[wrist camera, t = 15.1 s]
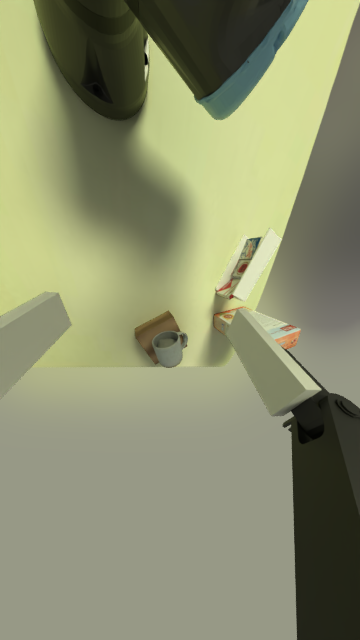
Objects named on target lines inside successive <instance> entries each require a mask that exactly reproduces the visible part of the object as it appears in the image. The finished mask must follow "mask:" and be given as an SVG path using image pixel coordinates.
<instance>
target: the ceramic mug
mask: <svg viewBox="0 0 360 640" xmlns="http://www.w3.org/2000/svg"><path fill="white" fill-rule="evenodd" d="M181 334H183V343H182V345H181V341H180V336H179V335H181ZM187 341H188V337H187V334H186V333H184V332H181V331H180V332H175V331H164V332H161V333H159V334H157V335H156V336H155V337H154V338H153V340H152V345H153V348H154V350H155V353H156V355H157V358H158V361H159V362H160V364H161V365H162V366H164V367H166V368H172V367H175V366H177V365H178V364H179V363H180V362H181V360H182V349H183V348H184V347H185V346H186V344H187Z"/></svg>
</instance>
